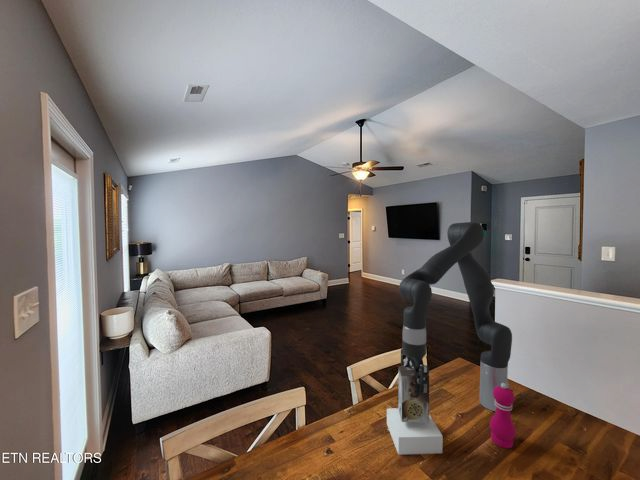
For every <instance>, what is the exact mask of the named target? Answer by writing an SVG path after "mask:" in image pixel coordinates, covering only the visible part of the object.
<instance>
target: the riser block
mask: <svg viewBox="0 0 640 480" xmlns="http://www.w3.org/2000/svg"><path fill="white" fill-rule="evenodd" d="M386 426H387V428H388V430H389V433H390V436H391V439H392V442H393V445H394V446H395V449H396V453H397V454H398V455H401V456H402V455H429V454H431V455H432V454H433V455H434V454H443V441H444V440H443V439H444V437H443V436H444V435H442V433H441V431H440V429H439V428H438V426H437V424H436V423H435V422H434V419H433V418H432V417H431V414H429V423H416V422H402V421H401V418H400V414H399V410H398V407H397V408H395V407H394V408H393V407H392V408H386Z"/></svg>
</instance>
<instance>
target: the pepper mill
mask: <svg viewBox="0 0 640 480" xmlns="http://www.w3.org/2000/svg"><path fill="white" fill-rule="evenodd" d="M493 396H494V398H495V402H494V404H495V406H496V411H494V414H493V416H492V417H491V419H490V421H489V429H490V430H491V432H490V439H491V441H492V442H493V443H494V444H495V445H497V446H499V447H500V448H503V449H511V448H513V446H514V438H515V437H516V428H515V425H514V422H513V421H512V418H511V411H512V410H513V407H514V406H513V404H514V402H515V394H514V393H513V391H512V390H511V389H510V387H509V388H507V385H506V384H505V383H502V384H501V386H497V387H496V388H494V390H493Z"/></svg>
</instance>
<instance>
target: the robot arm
mask: <svg viewBox="0 0 640 480" xmlns="http://www.w3.org/2000/svg"><path fill="white" fill-rule="evenodd" d="M446 233H447V240H448V243H449V246H448V247H446V248H445V249H442V250H440V251H439V252H437V253H435V254H434V255H432V256H431V257H429V259H428V260H427V261H425V263H424V264H423V265H422V266H421V267H420V268H419V269H416V270H415V271H413V272H411V273H410V274H408V275H407V276H405V277H404V278H403V279H402V280H401V282H400V283H399V286H398V293H399V295H400V297H402V298H404V299H405V300H408V301H413V305H412V306H407V307H405V308H404V310H403V326H402V342H401V343H402V344H401V345H402V347H401V349H400V366H405V367H408V366H409V367H410V368H411V369H412V371H413V375H414V376H415V377H416V381H417V388H416V392H417V394H418V395H419V394H423V393H424V384H429V385H430V366H429V365H427V364H426V365H425V364H424V361H423V358H424V357H425V356H426V355H427V327H426V326H427V325H426V324H427V312H428V308H429V305H430V302H431V299H432V296H433V293H432V292H433V291H432V287H431V285H436V284H437V283H438V282H440V280H441V279H442V278H443V277H444V276H445V274H446V273H448V271H449V270H450V269H451V268H452V267H453V266H455V264H456V263H457V265H458V268H459V271H460V273H461V277H462V281H463V285H464V288H465V290H466V291H465V292H466V295H467V297H468V300H469V304H470V306H471V311H472V315H473V321H474V325H475V331H476V335H477V337H478V338H479V340H480V341H481V342H483V343H484V344H487V345H489V346H490V347H491V349H490V350H485V351H483V352H481V353H480V370H479V372H480V373H479V374H480V375H479V396H478V397H479V403H480V405H481V406H482V407H484V408H485V409H487V410H489V411H493V412H496V406H495V404H494V402H495V398H494V396H493V390H494V388H496V387H497V386H501V384H502V383H505V384H506V385H507V388H509V389H510V383H509V382H508V373H509V372H508V368H509V361H510V359H511V355H512V354H511V352H512V345H513V333H512V330H511V329H510V327H508V326H506V325H504V324H501V323H499V322H497V321H495V320H493V317H492V316H491V311H490V305H491V303H492V301H493V298H494V294H495V291H494V287H493V283H492V280H491V277H490V274H489V273H488V272H487V270H486V269H485V268H484V267H483V266H482V265H481V263H480V262H478V261H477V259H475V258H474V256H473V254H472V251H474V250H475V249H476V248H478V247H479V246H480V245H481V244H482V243H483V241H484V239H485V229H484V227H483V226H482V224H480V223H479V222H475V221H468V222H465V221H464V222H454V223H451V224H450V225H449V227H448V229H447V232H446ZM416 371H420V373H417V372H416ZM418 375H420V379H419V377H418Z"/></svg>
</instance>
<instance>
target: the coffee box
mask: <svg viewBox="0 0 640 480" xmlns="http://www.w3.org/2000/svg"><path fill="white" fill-rule="evenodd" d="M416 372H417V373H420V371H416ZM418 377H419V379H420V375H418ZM416 388H417V381H416V377H415V376H414V375H413V371H412V369H411V368H410V367H409V366H408V367H405V366H402V365H398V388H397V389H398V396H397V397H398V407H397V408H398V410H399V414H400V418H401V421H402V422H416V423H429V415H430V383H429V384H424V393H423V394H419V395H418V394H417V392H416Z"/></svg>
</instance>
